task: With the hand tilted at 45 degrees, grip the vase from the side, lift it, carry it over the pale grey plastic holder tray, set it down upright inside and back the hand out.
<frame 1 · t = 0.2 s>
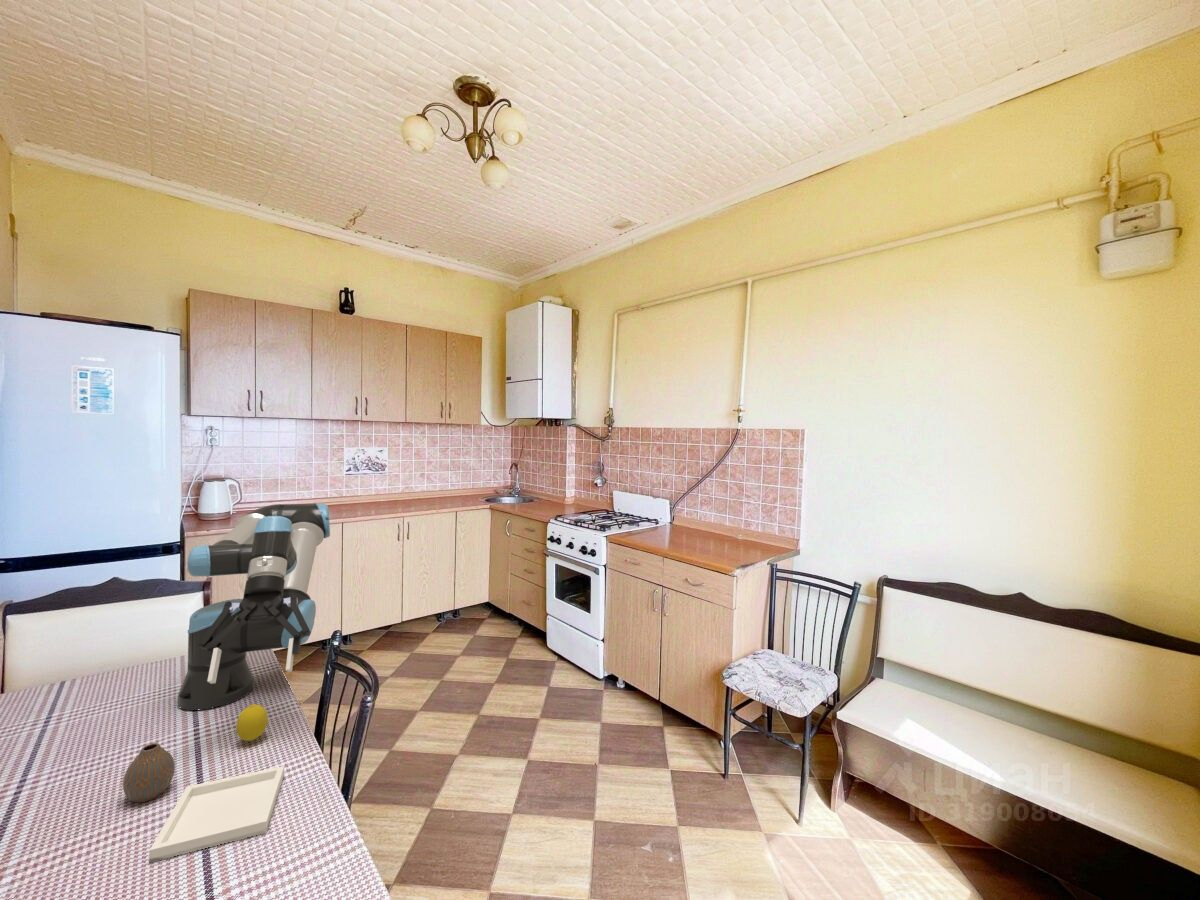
hand: (251, 676, 101), 15 cm above the table, tool tilted 35°, fingers open, 13 cm apart
lemon: (251, 742, 103), on the table
vase: (149, 795, 87), on the table
holder tray: (224, 814, 83), on the table
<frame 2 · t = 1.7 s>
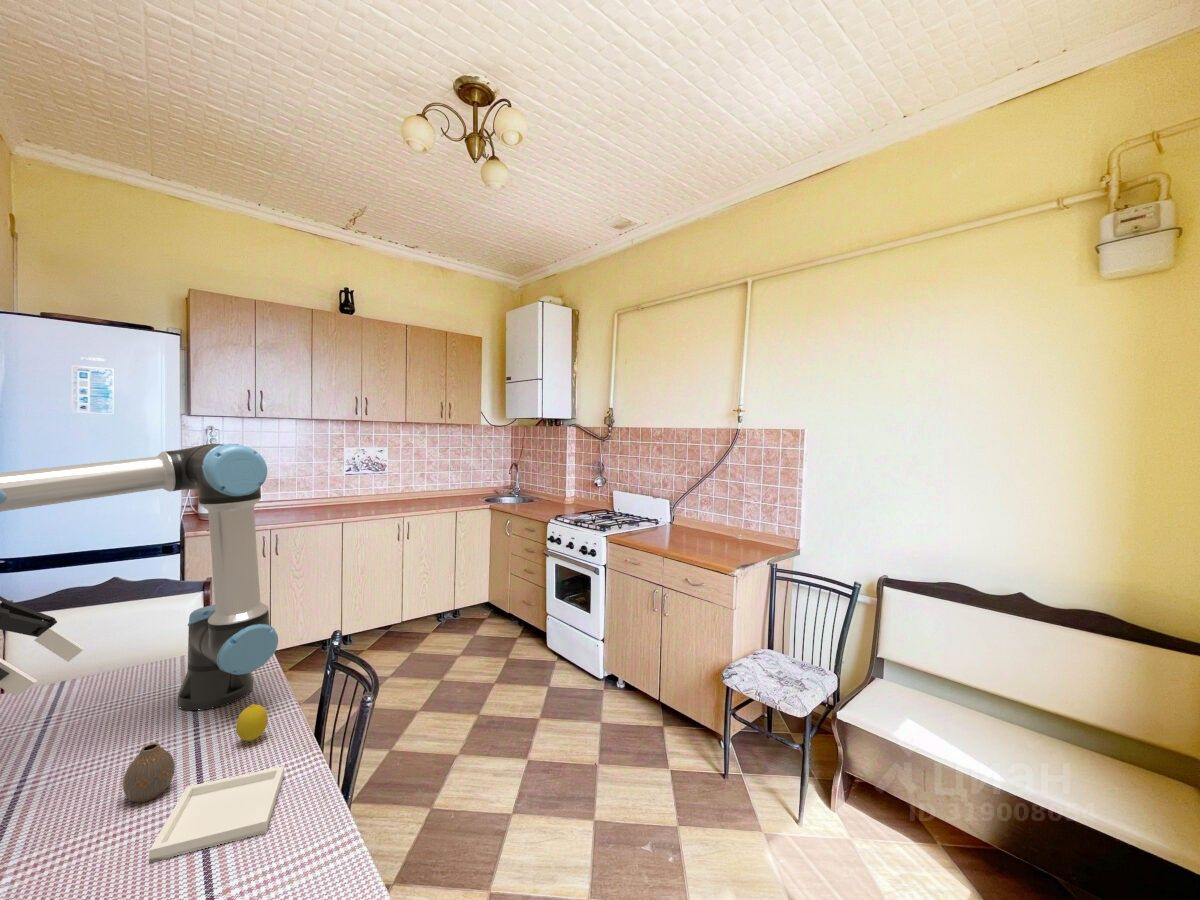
hand: (54, 670, 82), 25 cm above the table, tool tilted 45°, fingers open, 13 cm apart
nothing on the table moved.
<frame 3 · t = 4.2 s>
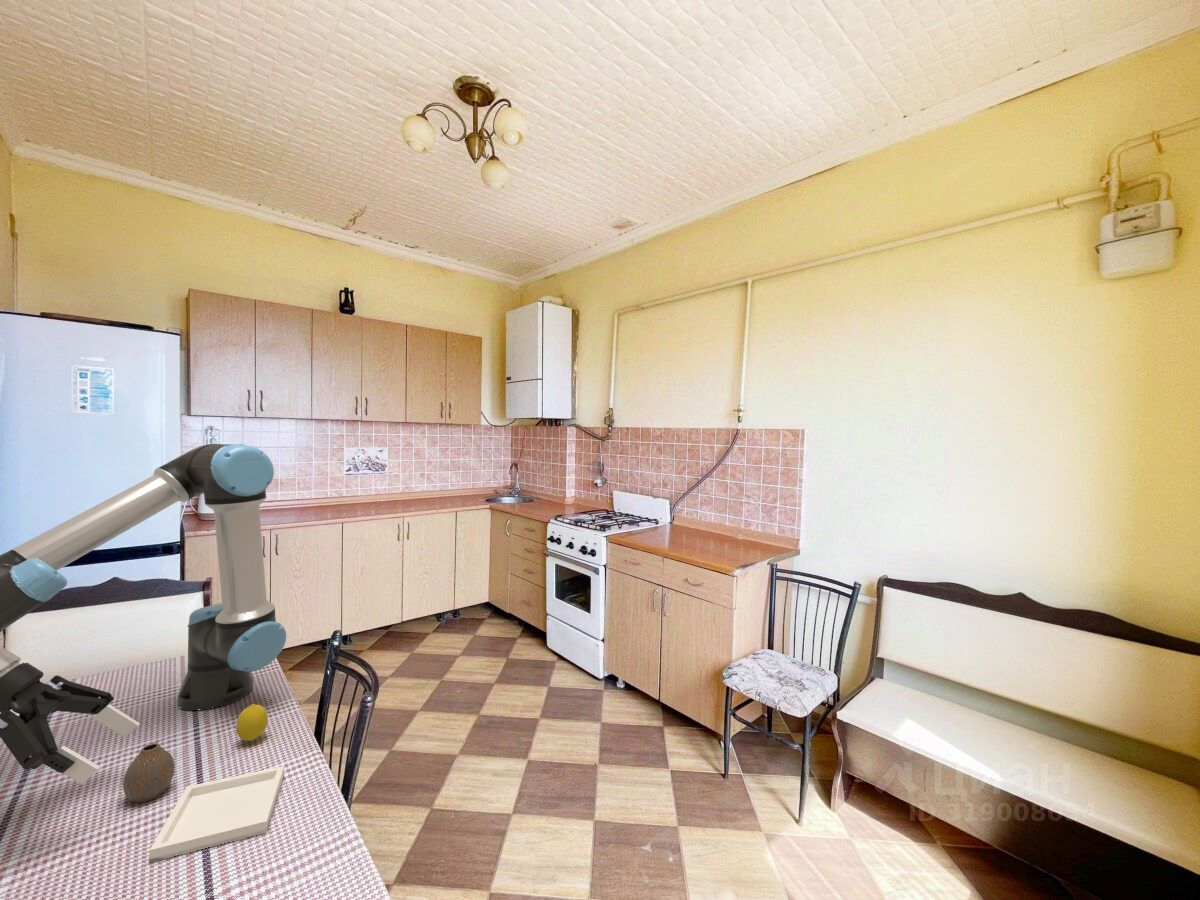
hand: (113, 751, 85), 9 cm above the table, tool tilted 45°, fingers open, 13 cm apart
nothing on the table moved.
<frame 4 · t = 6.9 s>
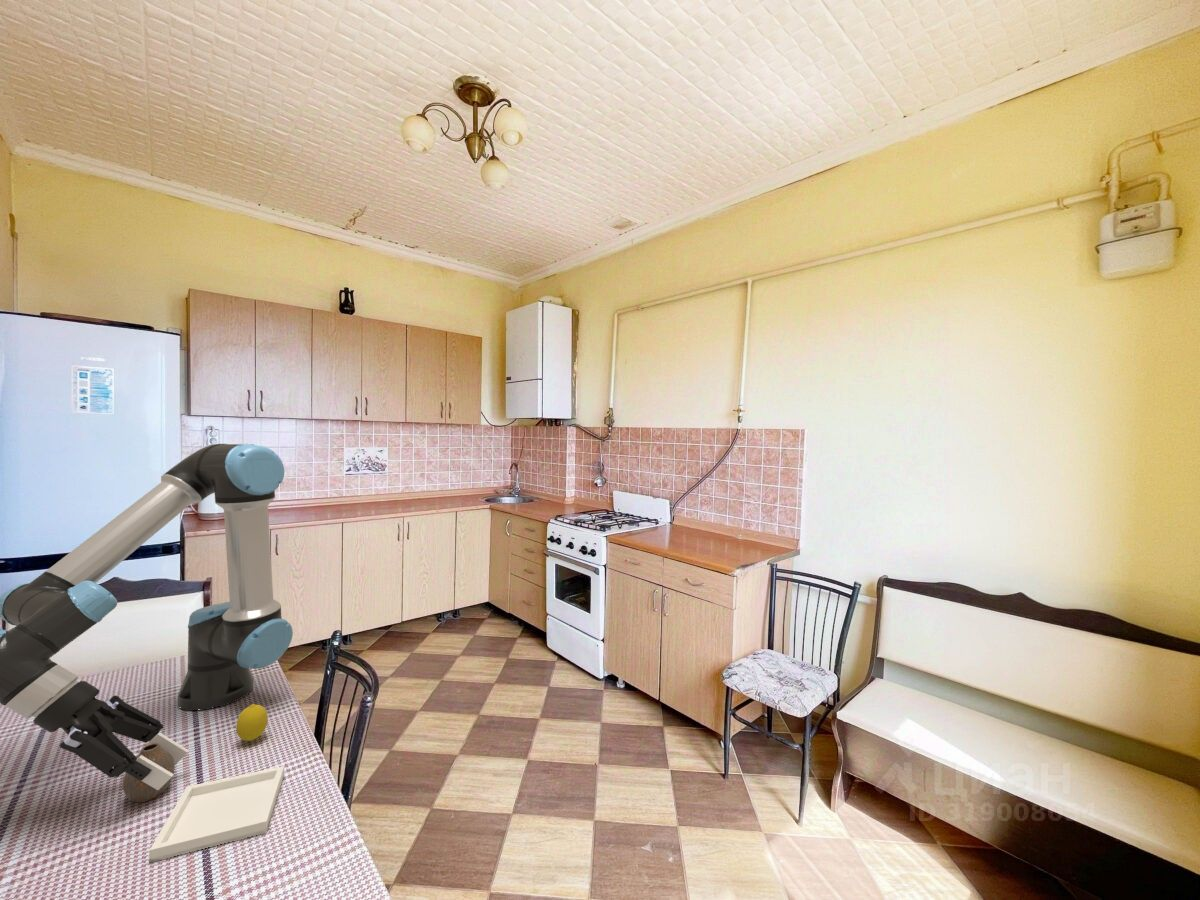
hand: (174, 769, 89), 4 cm above the table, tool tilted 45°, fingers closed on vase, 7 cm apart
vase: (148, 795, 87), on the table, touching gripper
everything else where it was.
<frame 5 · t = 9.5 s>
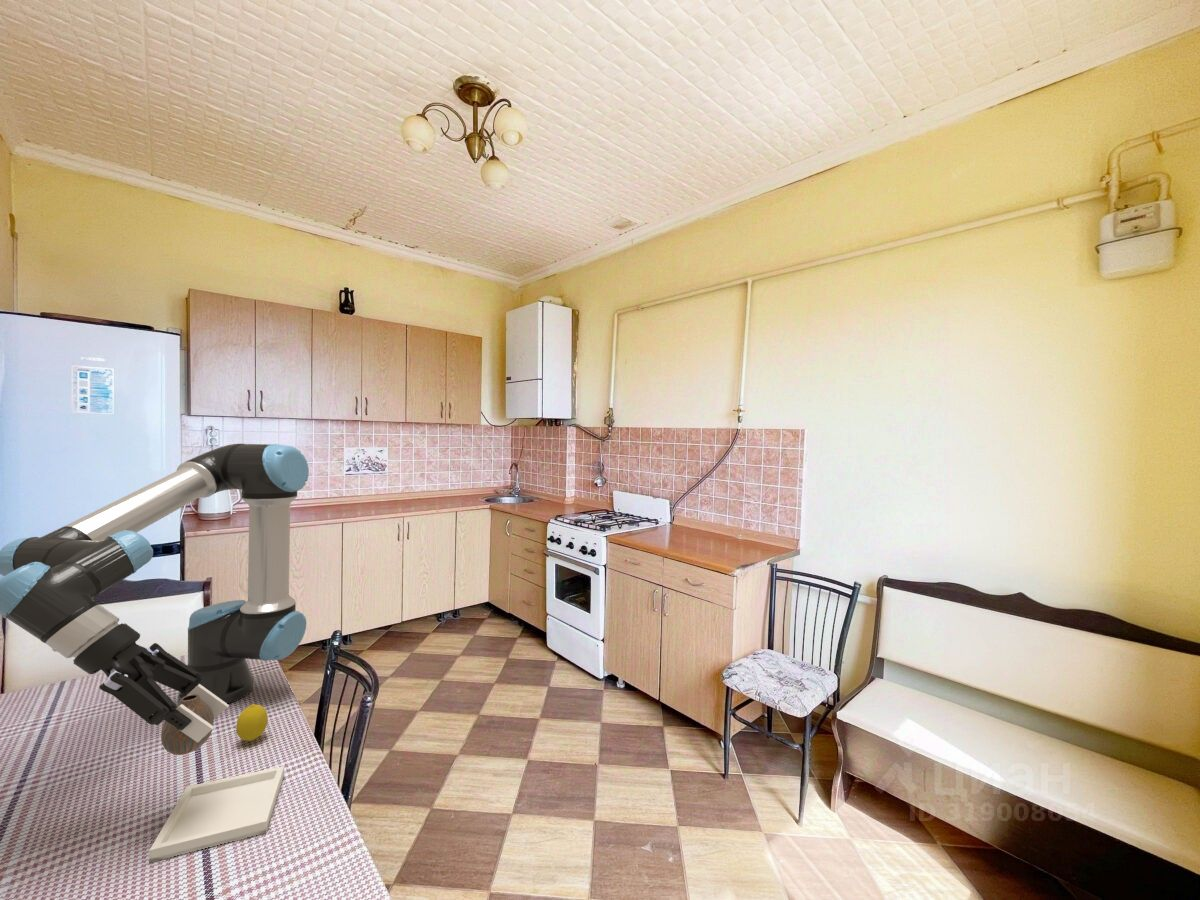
hand: (214, 722, 84), 15 cm above the table, tool tilted 45°, fingers closed on vase, 7 cm apart
vase: (187, 749, 82), point 12 cm above the table, touching gripper
everything else where it was.
when the fingers open (5 cm above the table, at t = 12.5 s): vase drops 1 cm, resting on holder tray.
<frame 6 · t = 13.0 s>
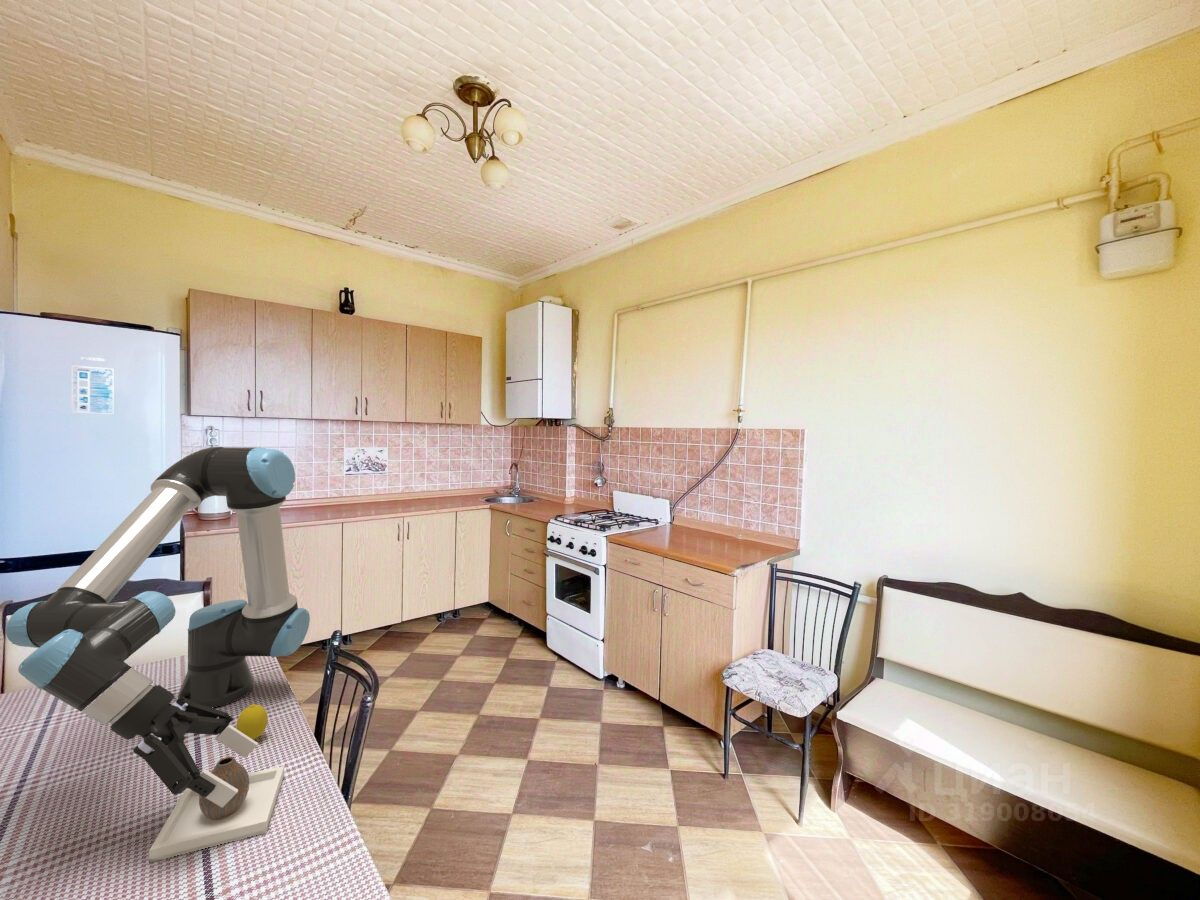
hand: (242, 773, 84), 7 cm above the table, tool tilted 45°, fingers open, 13 cm apart
vase: (224, 812, 83), resting on holder tray
everything else where it was.
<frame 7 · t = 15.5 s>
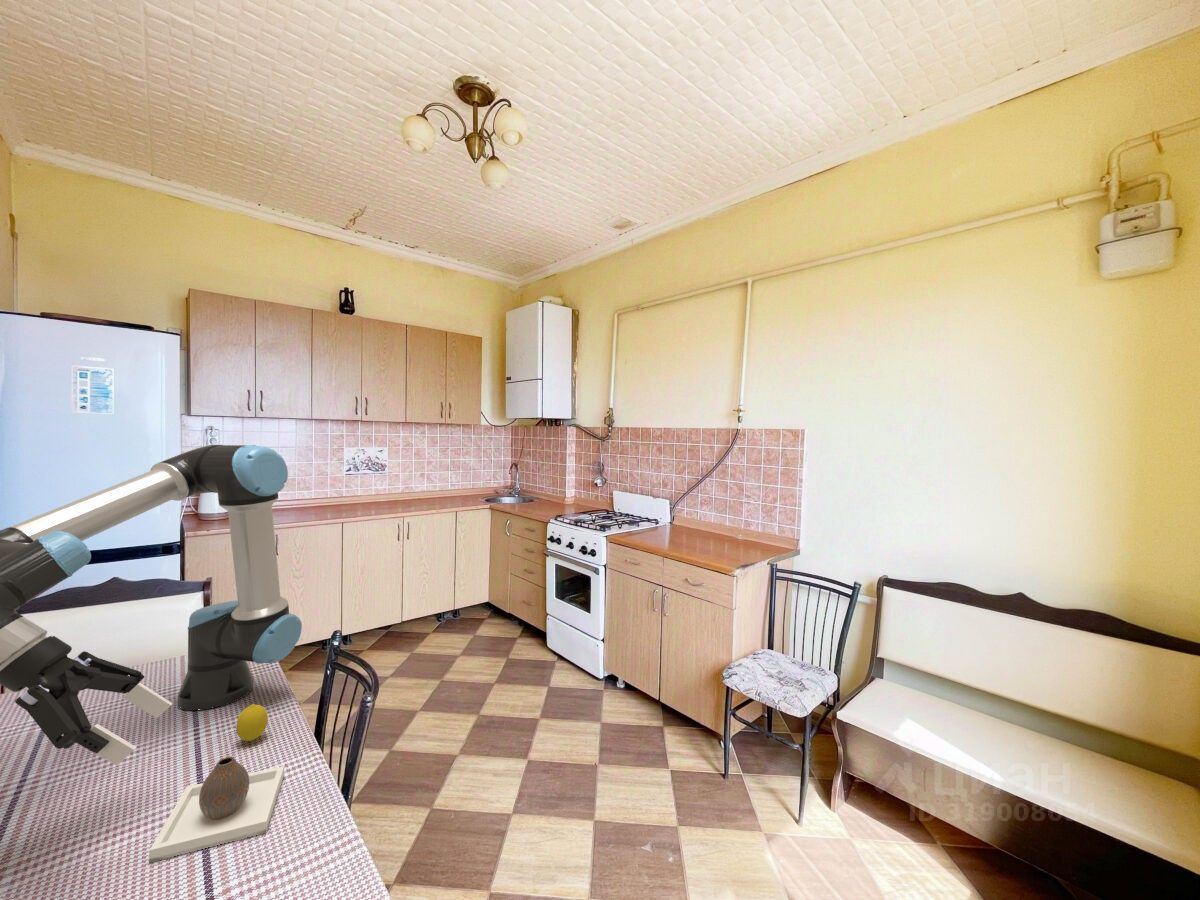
hand: (147, 731, 79), 17 cm above the table, tool tilted 45°, fingers open, 13 cm apart
nothing on the table moved.
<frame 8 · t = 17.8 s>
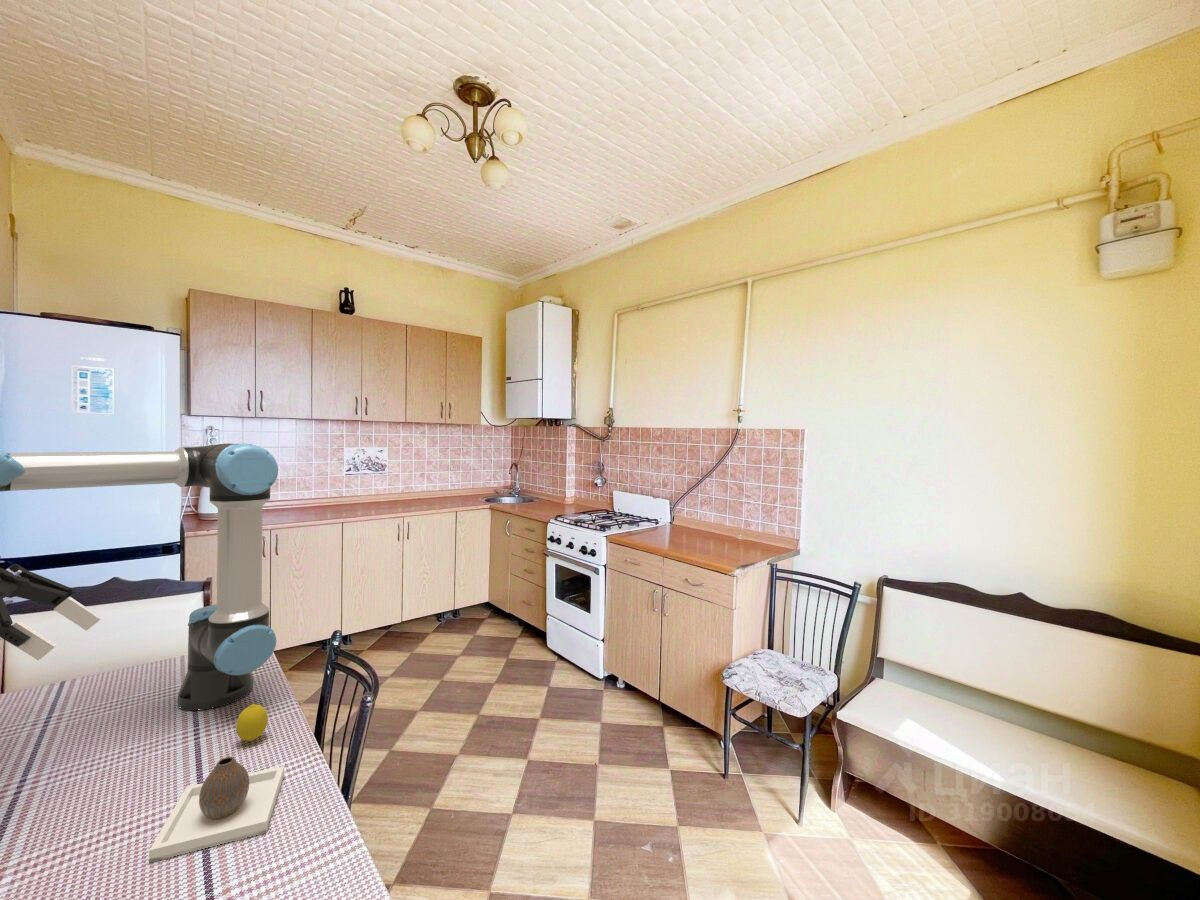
hand: (73, 637, 84), 30 cm above the table, tool tilted 45°, fingers open, 13 cm apart
nothing on the table moved.
at the end: vase inside the target area on the holder tray (0.1 cm from its centre), point 0.4 cm above the holder tray's base; vase tilted 0°; the gripper is holding nothing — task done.
